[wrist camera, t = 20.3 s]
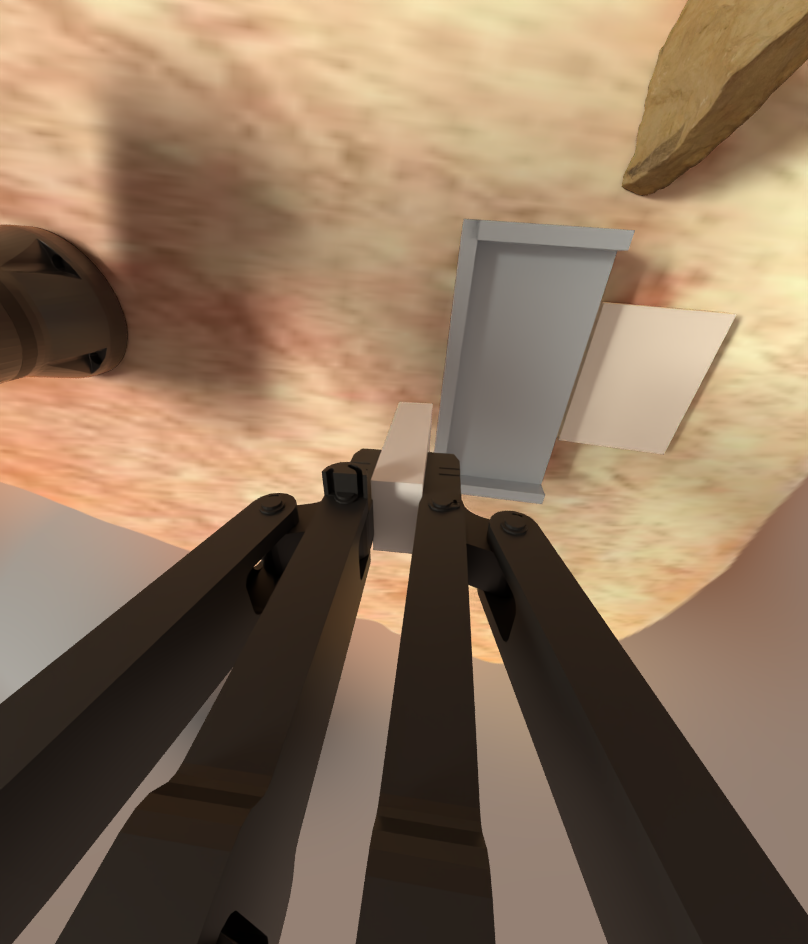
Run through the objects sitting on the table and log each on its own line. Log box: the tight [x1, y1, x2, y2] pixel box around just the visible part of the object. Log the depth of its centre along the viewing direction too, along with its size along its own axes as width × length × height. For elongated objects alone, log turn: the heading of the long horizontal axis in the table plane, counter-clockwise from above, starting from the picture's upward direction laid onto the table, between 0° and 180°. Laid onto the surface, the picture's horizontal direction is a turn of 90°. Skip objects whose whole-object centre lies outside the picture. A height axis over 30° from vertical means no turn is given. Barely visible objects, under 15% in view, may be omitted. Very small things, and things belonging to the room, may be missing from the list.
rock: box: [622, 0, 808, 196], centre depth 23 cm, size 11×9×10 cm
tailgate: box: [557, 302, 737, 454], centre depth 35 cm, size 1×14×11 cm
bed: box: [434, 219, 635, 504], centre depth 34 cm, size 12×24×7 cm, turn 176°
